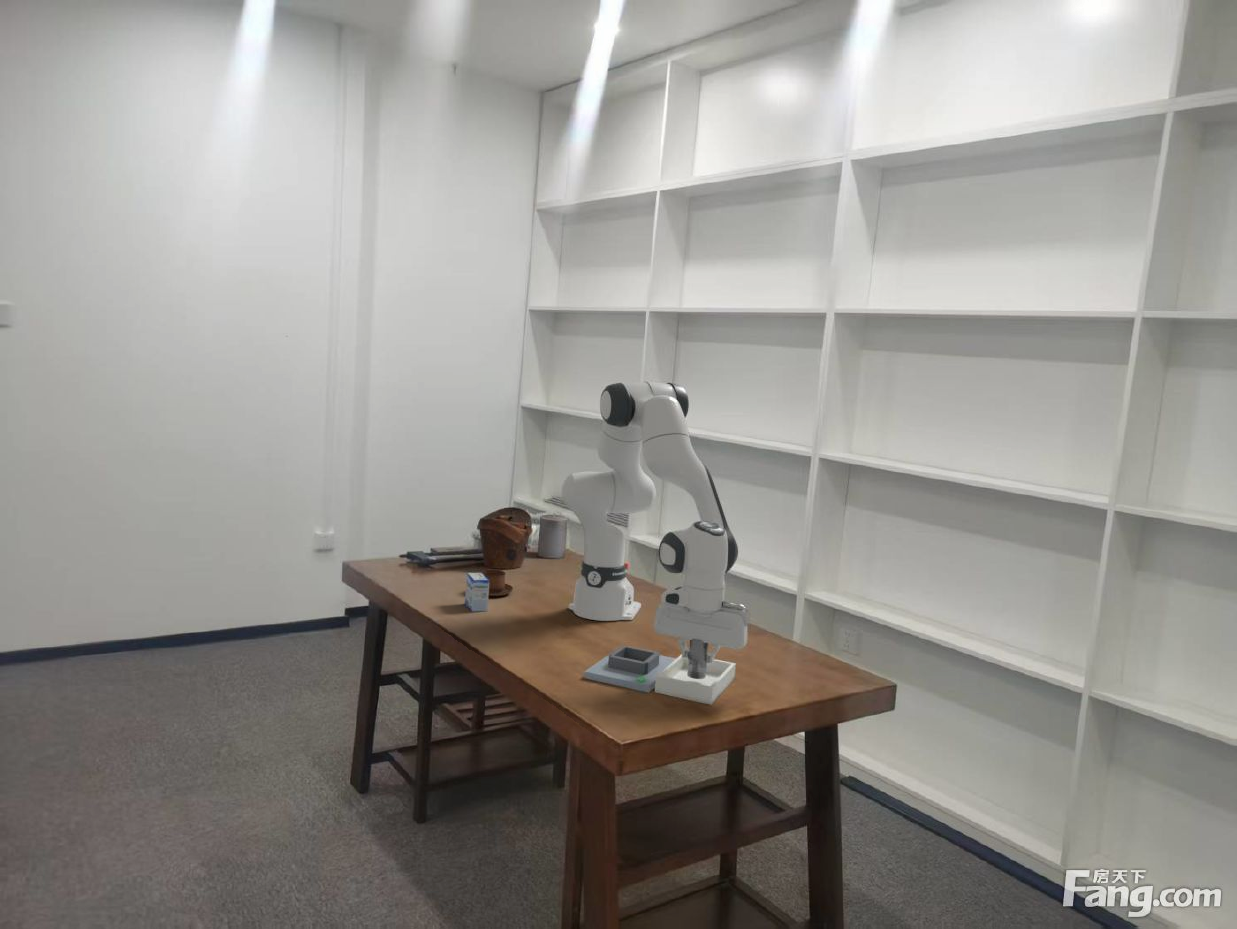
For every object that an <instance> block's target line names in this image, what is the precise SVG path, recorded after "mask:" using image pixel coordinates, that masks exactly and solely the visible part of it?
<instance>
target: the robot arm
mask: <svg viewBox="0 0 1237 929" xmlns="http://www.w3.org/2000/svg"><path fill="white" fill-rule="evenodd" d="M689 401H690V400H689V396H688V393H687V391H686V390H685V388H684V387H683V386H682V385H680V384H678V383H677V384H676V383H673V382H665V383H664V382H657V381H643V382H642V381H641V382H640V381H639V382H627V383H625V382H624V383H623V382H616V383H611V384H609V385H607V386H606V387H605V388H604V389H603V391H602V392H601V395H600V399H599V409H600V415H601V418H602V419H603V421H602V425H601V430H600V435H599V439H598V440H599V441H598V444H597V455H598V457H599V459H600V460H601V462H602V463H603V464H605V465H606V466H608V467H609V468H610V469H613V471H590V470H588V471H587V470H586V471H581V472H572V473H569V474H568V476H567V477H566V478H565V479H564V481H563V483H562V486H561V498H562V501H563V504H564V505H565V507H567V508H568V509H569V510H570V511H571V512H572V513H573V514H574V515H575V516H576V517H577V519H578V521H579V523H580V525H581V527H582V531H583V536H584V537H583V539H584V543H583V544H584V547H583V548H584V549H583V550H584V551H583V560H582V562H581V566H580V574H581V576H580V577H579V578H578V579H577V580H575V581H576V583H575V587H574V588H575V589H574V593H573V594H574V596H573V603H572V602H571V603H569V605H568V609H569V610H571V611H573V614H575V615H576V616H578V617H580V618H583V619H588V620H594V621H601V622H609V621H610V622H613V621H631V620H634V618H635V616H636V615H637V614H638V612H639V611H640V610H641V608H642V604H641V602H639V601H635V600H634V597H635V596H634V595H635V591H634V590H635V588H634V586H633V585H632V583H631V582H630V581H629V580H628V578H627V571H628V570H629V569H630V562H627V561H626V562H625V558H626V556H625V555H626V548H627V547H626V545H627V544H626V543H627V539H626V535H625V534H624V532H623V531H622V530H621V529H620V528H618V527H617V526H615V525H613V524H611V523H609V522H608V519H607V518H608V516H607V515H608V514H637V513H642V512H646V511H649V510H650V509H651V508H652V507H653V505H654V503H655V500H656V497H657V491H656V490H657V489H656V486H655V483H654V481H653V480H652V478H651V477H650V476H649V475H648V474H646V473H645V472H644V471H643V470H644V469H642V466H641V461H640V460H641V459H640V458H641V451H643V455H644V456H643V457H644V461H645V464H646V466H647V468H648V470H649V471H650V472H651V473H652V474H653V475H654V476H656V477H657V478H658V479H660V480H662V481H664V482H666V483H670V484H672V485H674V486H676V487H679V488H680V489H682V490H684V491H685V492H686V493H688V494H689V495H690V497H692V499H693V501H694V503H695V506H696V510H697V512H698V516H699V518H700V520H699V521H695V522H693V523H692V524H691V525H690V526H688V527H687V528H685V529H680V530H675V531H669V532H667V533H666V534H665V535H664V536H663V537H662V539H661V541H660V543H659V547H658V560H659V562H660V565H662V567H663V569H665V570H666V571H667V572H668V573H670V574H673V575H674V574H675V575H683V576H684V581H683V586H682V585H681V586H675V587H671V588H669V589H667V590H665V591H664V592H663V593H661V595H660V601H661V603H660V604H659V605H658V607H657V609H656V612H655V618H654V631H655V632H656V633H657V634H658V635H665V636H670V637H676V638H678V639H677V643H678V645H679V647H680V649H681V651H682V652H681V654H682V658H685V659H689V648H688V646H687V643H686V642H687V641H688V640H689V641H690V640H692V639H697V640H702V641H703V642H704V643H709V645H711V649H712V650H713V651H712V652H708V654H707V655H706V663H710V664H713V663H714V659H715V658H716V654H717V653H718V652H719V650H720V649H721V648H722V647H725V648H730V649H735V650H740V649H743V648H744V647H745V646H746V644H747V643H748V625H749V623H750V617H751V613H750V611H749V609H748V608H747V607H745V606H744V605H743V604H739V603H737V604H736V603H733V602H727V601H724V600H725V594H726V593H725V591H726V581H725V574H726V573H728V572H729V571H730V570H731V569H732V568H733V567H734V565H735V564H736V561H737V560H738V557H739V547H738V543H737V540H736V539H735V537H734V535H733V532H732V531H731V528H730V526H729V525H728V522H727V519H726V516H725V513H724V510H723V507H722V503H721V500H720V498H719V494H718V491H717V488H716V486H715V483H714V481H713V478H712V475H711V472H710V471H709V469H708V467H707V465H705V464H704V463H703V462H702V461H701V459H700V458H698V456H697V454H696V452H695V450H694V447H693V445H692V442H691V438H690V432H689V427H688V424H687V420H686V417H687V415H688V414H689V413H688V412H689V409H690V408H689V407H690V406H689V404H690V402H689Z"/></svg>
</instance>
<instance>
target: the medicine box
mask: <svg viewBox="0 0 1237 929" xmlns="http://www.w3.org/2000/svg"><path fill="white" fill-rule="evenodd" d="M488 595H489V580H488V579H487V578H486V577H485V576H484V575H483V574H482V573H480V572H468V573H466V583H465V597H464V598H465V599H464V604H465V605H466V606H467V608H469V609H470V611H471V612H472V613H473V612H487V611H488V607H489V596H488Z"/></svg>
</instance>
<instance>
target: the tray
mask: <svg viewBox="0 0 1237 929" xmlns="http://www.w3.org/2000/svg"><path fill="white" fill-rule="evenodd" d="M688 660H689V659H685V658H682V653H681V654H680V655H679V656H678V657H676V659H675V660H674V661H673V662H672V663H671V664H670V665H668V666H667V667H666V668H665V669H664V670H663V671H661V672H660V673H659V674H658V675H657V676H656V683H655V687H654V693H657V694H661V695H662V694H663V695H667V696H671V697H675V698H679V699H684V700H689V701H693V702H697V703H702V704H707V705H711V706H712V705H713V703H714V702H715V701H716V700H717V699H718V698H719V697H720V696H721V694H722V693H723V692H725V690H726V688H728V686H729V685H730V684H731V683H732V682H733V681H734V680H735V676H736V667H737V666H736V664H737V663H736V662H735V663H734V662H732V661H731V662H730V661H724V660H721V659H714V663H713V664H710V663H707V667H706V677H705V678H703V679H694V678H690V677H688V676H687V671H688Z"/></svg>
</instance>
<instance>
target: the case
mask: <svg viewBox="0 0 1237 929" xmlns="http://www.w3.org/2000/svg"><path fill="white" fill-rule="evenodd" d="M532 527H533V526H532V516H531V515H530V513H529V512H528V511H526V510H525V509H522V508H520V507H515V506H512V507H502V508H500V509H497V510H495V511H492V512H490V513H488V514H486V515H484V516H483V517H480V519H479V520H478V523H477V526H476V530H477V531H479V537H480V544H481V550H482V556H483V564H484V565H485V566H486V567H488V568H491V569H495V570H499V569H500V570H505V569H506V570H508V569H509V570H511V569H516V568H520V567H522V565H523V564H524V561H525V557H526V553H527V551H528V550H531V546H530V545H529V539H530V536H531V534H532V533H533V528H532Z"/></svg>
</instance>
